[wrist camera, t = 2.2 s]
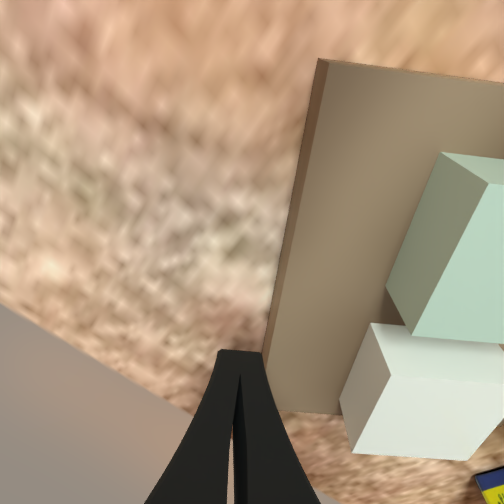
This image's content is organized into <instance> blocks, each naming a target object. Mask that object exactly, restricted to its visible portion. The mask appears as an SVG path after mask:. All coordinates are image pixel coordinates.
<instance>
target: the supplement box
mask: <svg viewBox="0 0 504 504" xmlns="http://www.w3.org/2000/svg"><path fill="white" fill-rule="evenodd" d="M475 480H476V483H477V485H478V487H479V489H480V491H481V493H482V495H483V497H484V499H485V501H486V503H487V504H504V468H503V469H500V470H496V471H493V472H489V473H486V474H481V475H476V476H475Z"/></svg>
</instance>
